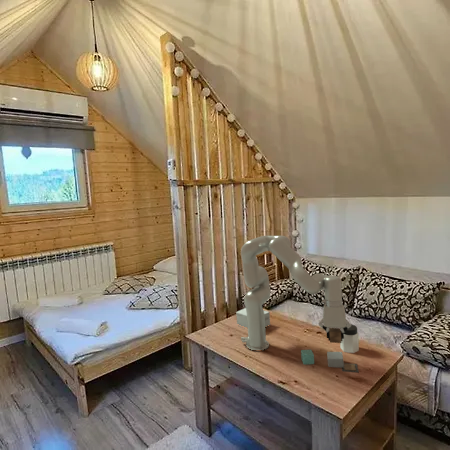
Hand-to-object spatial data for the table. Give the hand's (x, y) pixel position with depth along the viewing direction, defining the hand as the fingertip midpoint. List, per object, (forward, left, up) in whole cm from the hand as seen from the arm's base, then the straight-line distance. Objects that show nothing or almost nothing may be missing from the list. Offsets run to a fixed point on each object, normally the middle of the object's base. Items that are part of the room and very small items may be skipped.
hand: (335, 339), depth 155 cm
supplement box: (-47, +39, -13) cm, 63 cm away
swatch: (+6, -3, -12) cm, 14 cm away
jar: (+7, +15, -13) cm, 21 cm away
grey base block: (0, 0, -12) cm, 12 cm away
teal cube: (-13, 0, -12) cm, 18 cm away
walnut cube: (0, 0, -1) cm, 1 cm away
